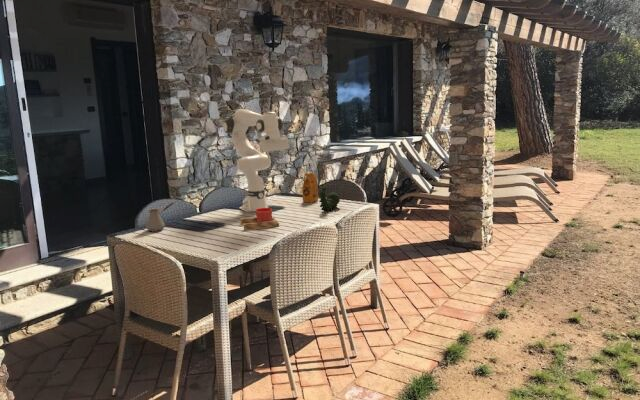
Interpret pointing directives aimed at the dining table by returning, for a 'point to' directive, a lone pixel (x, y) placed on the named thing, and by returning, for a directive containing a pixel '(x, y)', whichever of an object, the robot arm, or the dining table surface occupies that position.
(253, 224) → the brown wooden u-shaped frame
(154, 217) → the coffee pot
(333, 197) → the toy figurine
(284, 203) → the dining table surface
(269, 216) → the flower pot
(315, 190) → the coffee package
